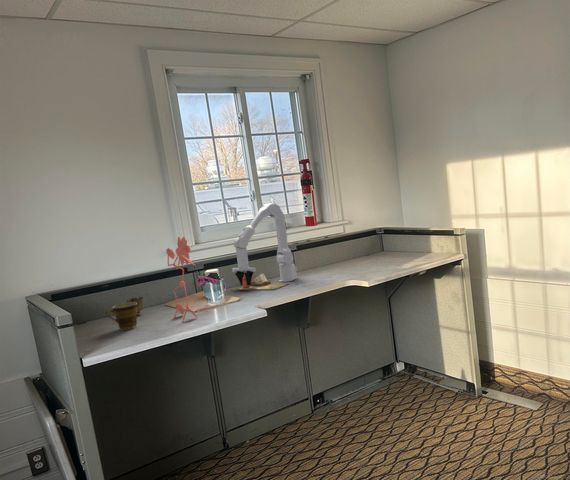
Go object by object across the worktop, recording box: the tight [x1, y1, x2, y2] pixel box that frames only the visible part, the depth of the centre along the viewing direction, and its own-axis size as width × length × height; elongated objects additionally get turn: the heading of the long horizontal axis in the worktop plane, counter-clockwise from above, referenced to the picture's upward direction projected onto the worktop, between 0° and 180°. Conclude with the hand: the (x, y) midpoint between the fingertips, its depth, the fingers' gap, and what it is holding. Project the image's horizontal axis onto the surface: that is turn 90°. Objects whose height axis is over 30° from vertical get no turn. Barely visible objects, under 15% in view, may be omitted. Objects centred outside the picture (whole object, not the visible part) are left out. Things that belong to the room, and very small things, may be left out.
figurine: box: [165, 236, 210, 321], centre depth 220 cm, size 15×26×35 cm, turn 36°
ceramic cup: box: [105, 302, 138, 332], centre depth 211 cm, size 13×10×10 cm
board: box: [238, 280, 290, 291], centre depth 270 cm, size 14×23×2 cm, turn 56°
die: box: [253, 273, 268, 284], centre depth 274 cm, size 5×5×5 cm
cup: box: [126, 296, 144, 317], centre depth 237 cm, size 8×7×8 cm
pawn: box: [242, 275, 249, 288], centre depth 271 cm, size 3×3×6 cm
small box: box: [204, 268, 220, 277], centre depth 265 cm, size 8×6×13 cm
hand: (245, 285), depth 271 cm, fingers open, 4 cm apart
